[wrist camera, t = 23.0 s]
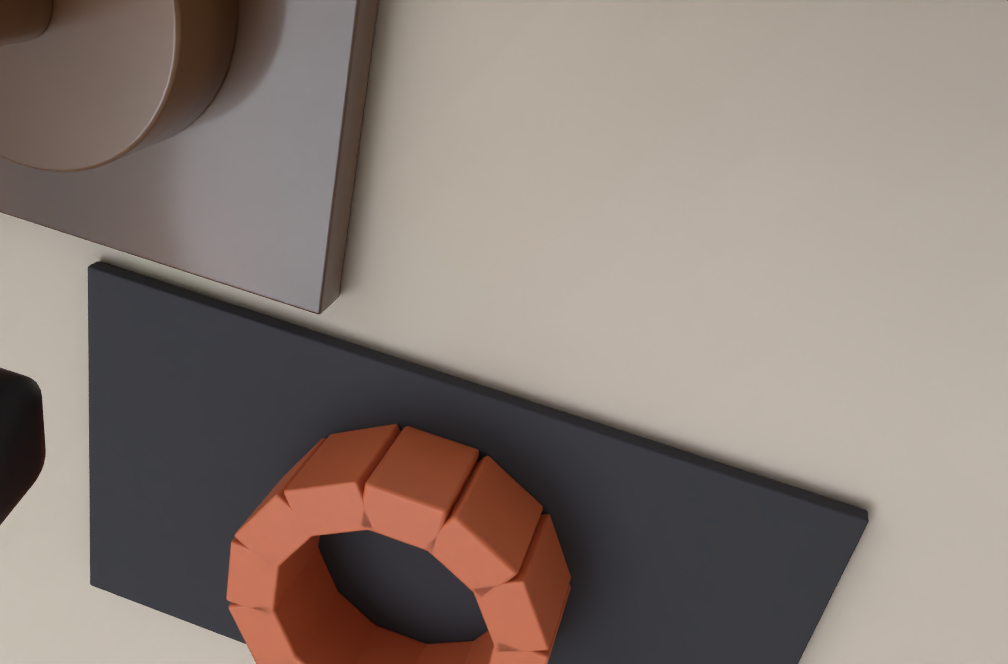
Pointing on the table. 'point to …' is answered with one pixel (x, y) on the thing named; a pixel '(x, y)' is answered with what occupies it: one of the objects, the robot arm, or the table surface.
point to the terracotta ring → (407, 518)
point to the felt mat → (452, 415)
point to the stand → (190, 132)
